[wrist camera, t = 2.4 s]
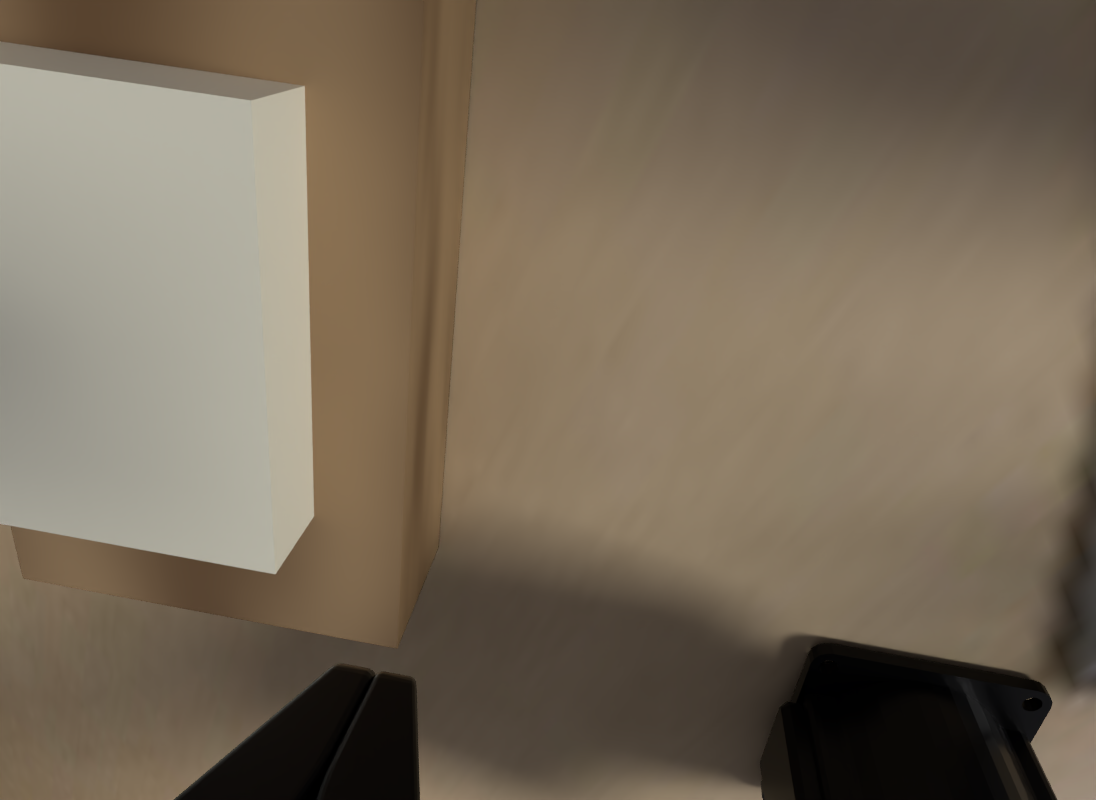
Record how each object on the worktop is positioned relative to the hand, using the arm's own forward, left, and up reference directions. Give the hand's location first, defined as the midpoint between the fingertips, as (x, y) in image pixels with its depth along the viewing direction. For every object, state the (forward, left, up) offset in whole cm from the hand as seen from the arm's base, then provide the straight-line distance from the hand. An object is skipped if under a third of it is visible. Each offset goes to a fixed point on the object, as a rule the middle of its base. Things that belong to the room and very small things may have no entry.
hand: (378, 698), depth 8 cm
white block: (+7, 0, -8) cm, 11 cm away
